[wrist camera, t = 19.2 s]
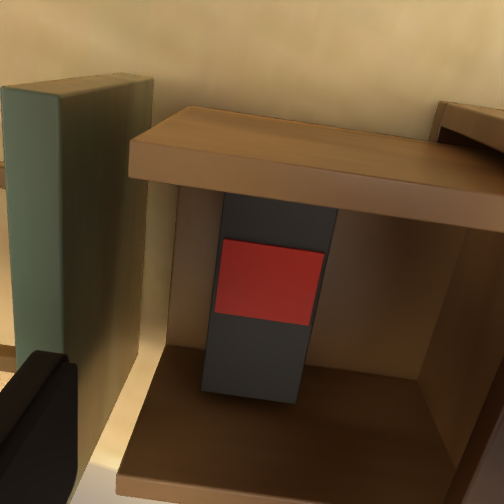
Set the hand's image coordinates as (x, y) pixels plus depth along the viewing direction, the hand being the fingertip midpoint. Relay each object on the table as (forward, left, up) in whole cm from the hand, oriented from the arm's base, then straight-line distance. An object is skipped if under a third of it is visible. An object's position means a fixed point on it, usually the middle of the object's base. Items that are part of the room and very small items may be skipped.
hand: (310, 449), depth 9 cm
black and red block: (-1, 0, -9) cm, 9 cm away
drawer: (-3, -1, -10) cm, 11 cm away
